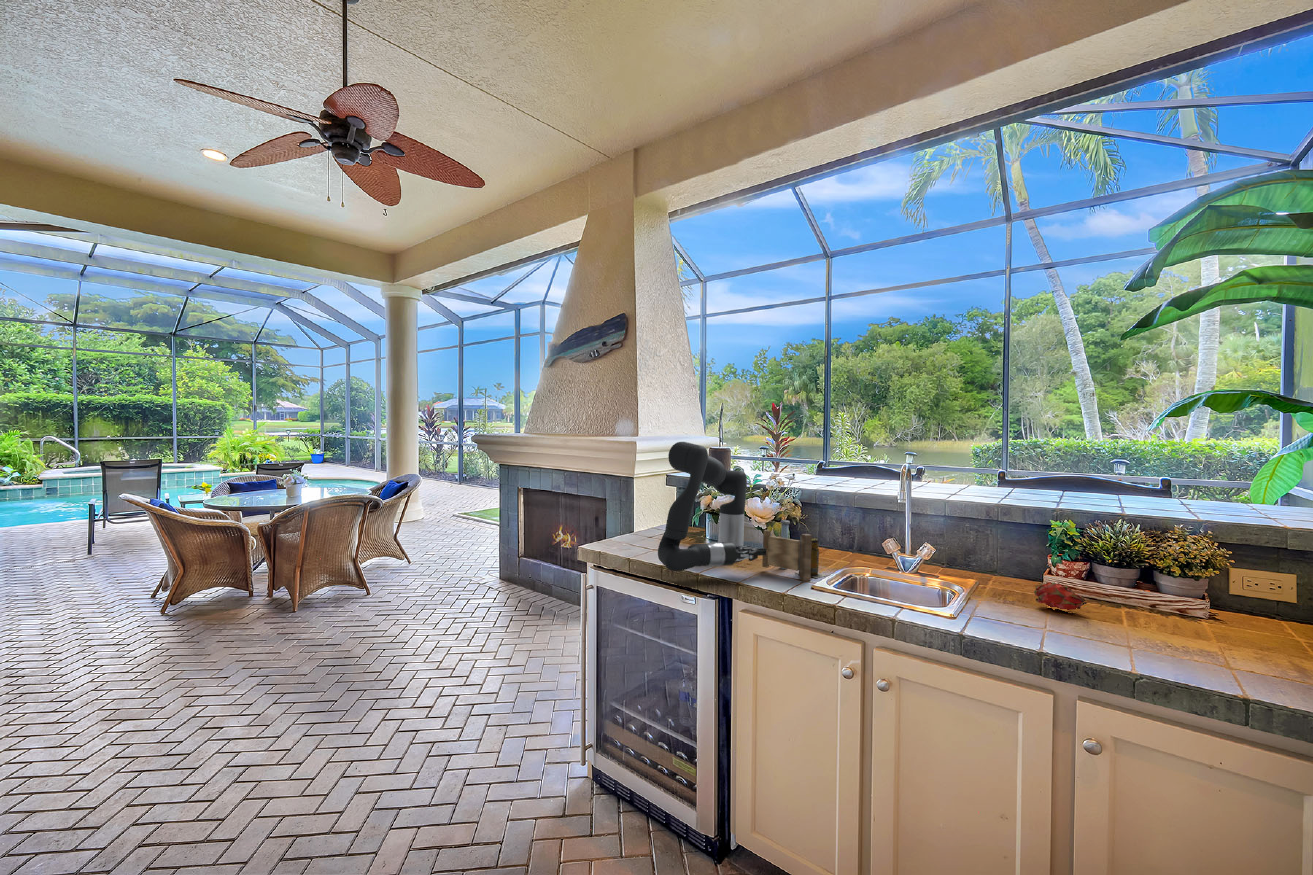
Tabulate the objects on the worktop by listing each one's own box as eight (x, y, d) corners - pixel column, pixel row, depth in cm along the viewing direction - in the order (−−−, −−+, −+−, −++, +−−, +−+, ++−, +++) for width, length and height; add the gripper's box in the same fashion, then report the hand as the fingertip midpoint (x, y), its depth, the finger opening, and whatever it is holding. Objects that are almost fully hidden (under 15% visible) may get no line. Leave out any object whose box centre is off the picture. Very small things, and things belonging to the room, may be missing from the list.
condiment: (806, 570, 185) (807, 536, 185) (827, 575, 178) (829, 540, 178) (794, 573, 180) (795, 538, 180) (815, 578, 173) (816, 542, 173)
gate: (762, 568, 181) (763, 530, 181) (764, 567, 182) (765, 530, 182) (801, 576, 172) (803, 536, 172) (803, 575, 173) (805, 536, 173)
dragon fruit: (1029, 609, 153) (1081, 625, 146) (1032, 598, 147) (1086, 615, 140) (1035, 583, 157) (1086, 598, 149) (1038, 572, 151) (1091, 586, 143)
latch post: (777, 567, 187) (778, 520, 186) (784, 566, 188) (786, 520, 188) (782, 569, 184) (784, 521, 183) (790, 569, 185) (791, 521, 185)
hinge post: (799, 579, 172) (801, 533, 171) (805, 579, 172) (807, 533, 172) (804, 581, 169) (805, 535, 169) (810, 581, 170) (811, 535, 170)
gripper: (728, 546, 163) (776, 544, 169) (710, 538, 176) (755, 536, 182) (728, 570, 163) (775, 567, 169) (709, 560, 176) (754, 557, 182)
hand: (765, 551), depth 175 cm, fingers closed
